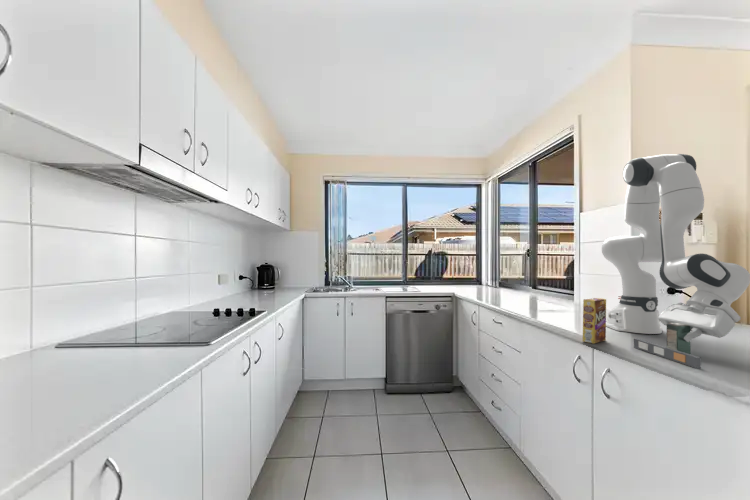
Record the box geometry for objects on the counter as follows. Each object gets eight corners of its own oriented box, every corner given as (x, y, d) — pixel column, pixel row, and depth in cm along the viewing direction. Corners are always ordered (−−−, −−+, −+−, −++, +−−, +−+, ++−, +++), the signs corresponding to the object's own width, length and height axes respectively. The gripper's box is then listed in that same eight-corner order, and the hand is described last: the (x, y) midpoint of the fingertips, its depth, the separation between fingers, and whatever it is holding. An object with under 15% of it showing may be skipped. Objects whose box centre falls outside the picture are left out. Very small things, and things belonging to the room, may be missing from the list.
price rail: (633, 347, 119) (633, 338, 119) (637, 347, 119) (637, 338, 119) (695, 368, 97) (695, 357, 97) (700, 368, 97) (700, 357, 97)
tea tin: (666, 352, 113) (666, 322, 113) (678, 351, 113) (678, 322, 113) (677, 355, 109) (677, 325, 109) (690, 355, 109) (690, 325, 109)
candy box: (595, 344, 123) (594, 300, 123) (582, 341, 127) (581, 299, 127) (607, 340, 128) (606, 298, 128) (594, 338, 131) (593, 297, 132)
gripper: (669, 296, 122) (642, 324, 121) (732, 304, 101) (700, 338, 101) (682, 308, 122) (655, 337, 121) (747, 319, 102) (715, 354, 101)
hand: (676, 338), depth 111 cm, fingers closed on tea tin, 4 cm apart
